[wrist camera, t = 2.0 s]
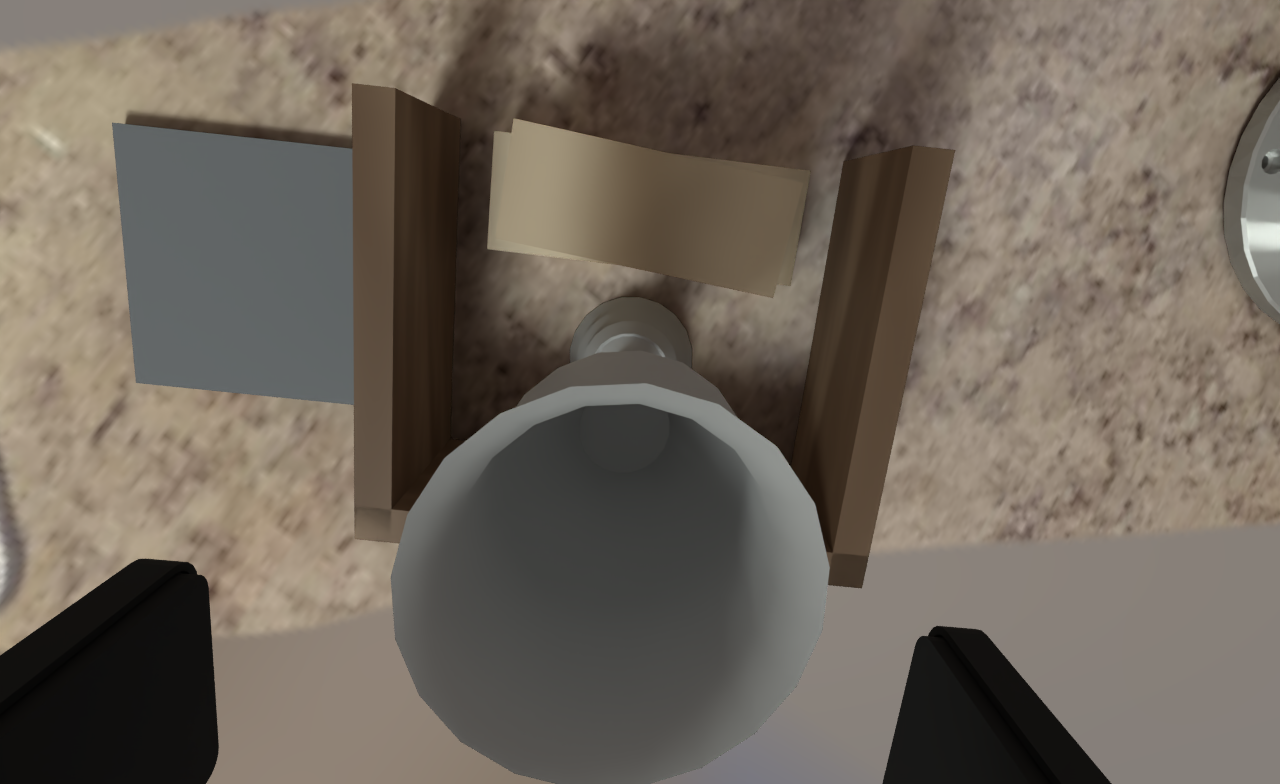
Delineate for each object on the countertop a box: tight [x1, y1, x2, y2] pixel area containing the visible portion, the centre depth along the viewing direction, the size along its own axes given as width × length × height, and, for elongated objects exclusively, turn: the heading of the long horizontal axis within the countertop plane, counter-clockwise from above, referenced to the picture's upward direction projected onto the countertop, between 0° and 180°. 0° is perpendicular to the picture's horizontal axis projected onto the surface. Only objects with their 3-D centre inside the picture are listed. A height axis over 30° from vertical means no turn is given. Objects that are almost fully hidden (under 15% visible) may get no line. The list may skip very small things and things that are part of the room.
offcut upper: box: [495, 118, 803, 298], centre depth 23 cm, size 9×4×3 cm, turn 78°
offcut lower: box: [487, 131, 811, 286], centre depth 26 cm, size 11×4×3 cm, turn 83°
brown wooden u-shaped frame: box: [352, 83, 955, 588], centre depth 24 cm, size 17×14×7 cm
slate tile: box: [112, 123, 354, 405], centre depth 27 cm, size 10×10×1 cm
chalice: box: [391, 297, 830, 784], centre depth 19 cm, size 7×7×18 cm
